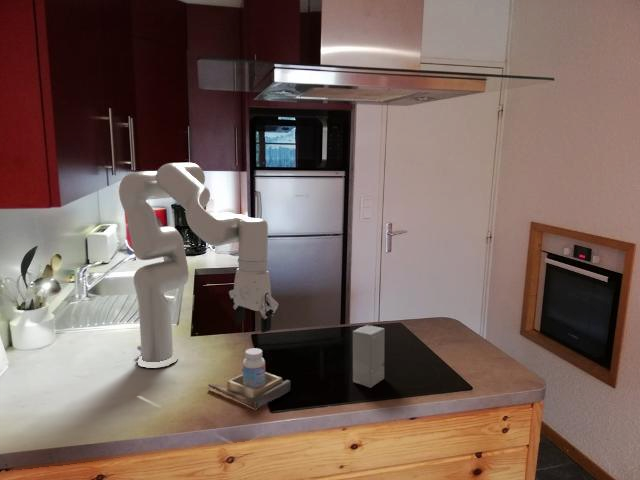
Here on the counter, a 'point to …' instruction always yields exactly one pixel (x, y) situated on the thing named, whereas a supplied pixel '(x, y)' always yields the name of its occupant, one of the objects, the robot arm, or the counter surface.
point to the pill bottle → (253, 369)
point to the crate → (238, 387)
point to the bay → (257, 400)
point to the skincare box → (368, 355)
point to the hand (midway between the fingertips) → (252, 326)
